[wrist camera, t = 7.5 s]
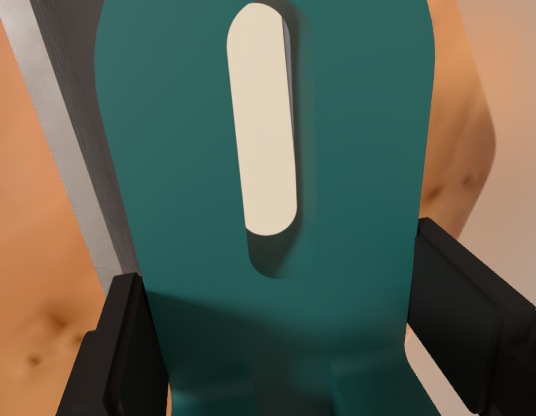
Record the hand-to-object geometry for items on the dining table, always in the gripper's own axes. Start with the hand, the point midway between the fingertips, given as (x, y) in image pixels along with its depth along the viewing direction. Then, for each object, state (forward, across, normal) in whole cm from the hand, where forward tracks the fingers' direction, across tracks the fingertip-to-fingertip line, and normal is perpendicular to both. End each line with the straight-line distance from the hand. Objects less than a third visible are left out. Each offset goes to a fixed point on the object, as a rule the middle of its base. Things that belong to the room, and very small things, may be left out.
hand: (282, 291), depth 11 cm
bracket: (+2, 0, 0) cm, 2 cm away
